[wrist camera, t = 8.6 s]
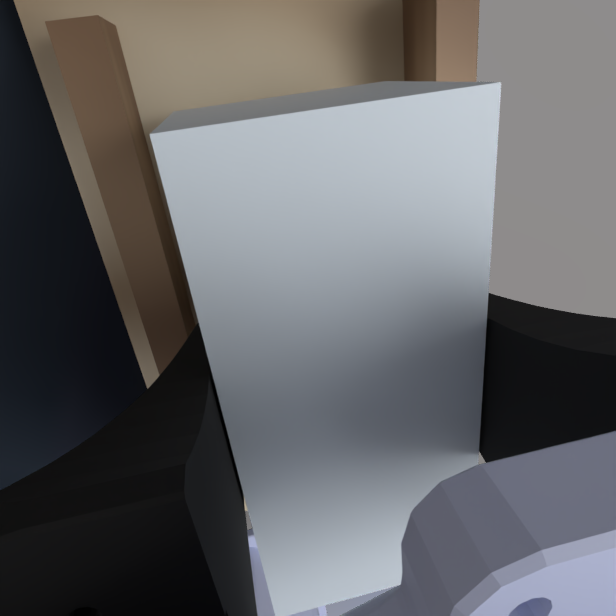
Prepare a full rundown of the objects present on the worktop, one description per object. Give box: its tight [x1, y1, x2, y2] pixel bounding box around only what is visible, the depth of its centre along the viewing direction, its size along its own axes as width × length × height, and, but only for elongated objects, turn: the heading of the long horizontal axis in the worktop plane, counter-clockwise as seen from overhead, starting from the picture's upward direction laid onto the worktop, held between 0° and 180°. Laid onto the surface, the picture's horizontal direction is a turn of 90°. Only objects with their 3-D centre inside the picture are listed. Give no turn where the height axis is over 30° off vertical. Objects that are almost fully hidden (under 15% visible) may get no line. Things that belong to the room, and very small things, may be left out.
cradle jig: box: [14, 0, 479, 511], centre depth 14 cm, size 18×11×3 cm, turn 7°
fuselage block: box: [150, 81, 501, 616], centre depth 11 cm, size 11×5×5 cm, turn 7°
